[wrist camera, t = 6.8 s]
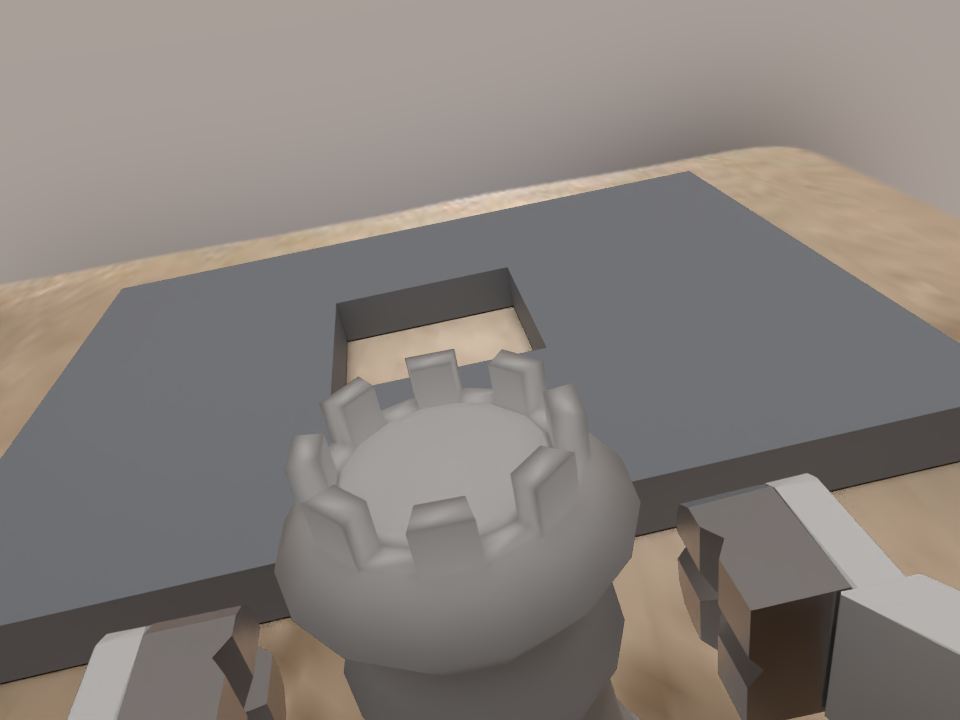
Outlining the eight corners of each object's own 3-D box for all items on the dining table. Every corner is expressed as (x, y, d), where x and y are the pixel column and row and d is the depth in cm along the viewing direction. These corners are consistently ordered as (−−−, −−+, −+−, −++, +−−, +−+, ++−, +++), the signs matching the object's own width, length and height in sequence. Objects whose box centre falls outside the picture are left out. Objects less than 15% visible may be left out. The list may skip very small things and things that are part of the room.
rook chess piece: (549, 685, 13) (475, 269, 9) (785, 899, 10) (837, 395, 6) (329, 882, 11) (97, 450, 7) (537, 1244, 7) (326, 830, 3)
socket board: (-98, 706, 15) (-142, 658, 14) (136, 321, 30) (122, 288, 29) (1017, 447, 16) (1032, 390, 15) (689, 204, 31) (689, 170, 31)
